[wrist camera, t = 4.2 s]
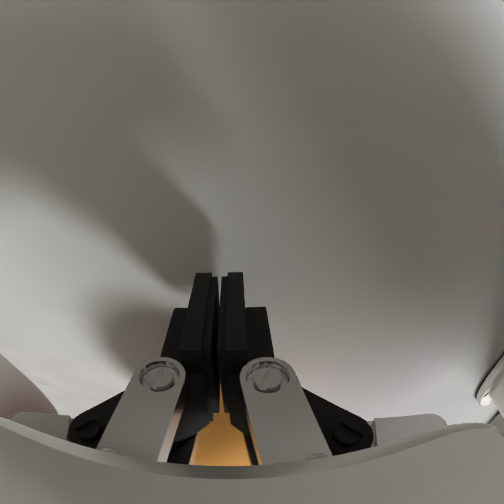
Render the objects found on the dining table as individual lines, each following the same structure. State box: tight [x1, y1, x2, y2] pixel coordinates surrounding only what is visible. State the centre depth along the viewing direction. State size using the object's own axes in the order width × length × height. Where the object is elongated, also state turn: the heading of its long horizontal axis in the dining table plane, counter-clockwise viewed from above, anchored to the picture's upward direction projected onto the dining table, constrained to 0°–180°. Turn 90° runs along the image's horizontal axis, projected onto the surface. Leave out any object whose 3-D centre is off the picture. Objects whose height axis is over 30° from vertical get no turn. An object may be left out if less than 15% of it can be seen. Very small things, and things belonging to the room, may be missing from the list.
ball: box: [194, 383, 250, 466], centre depth 11 cm, size 6×6×6 cm
